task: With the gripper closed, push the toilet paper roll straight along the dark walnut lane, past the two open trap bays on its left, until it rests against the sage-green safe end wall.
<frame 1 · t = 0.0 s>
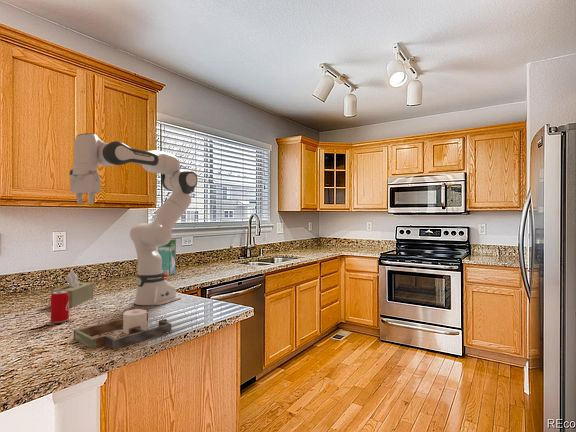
hand: (85, 203, 150), 48 cm above the worktop, tool pointing down, fingers open, 8 cm apart
milk carton: (166, 274, 252), on the worktop
toilet paper: (137, 329, 136), resting in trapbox
beverage can: (59, 321, 143), on the worktop
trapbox: (122, 332, 131), on the worktop
tissue box: (73, 303, 172), on the worktop
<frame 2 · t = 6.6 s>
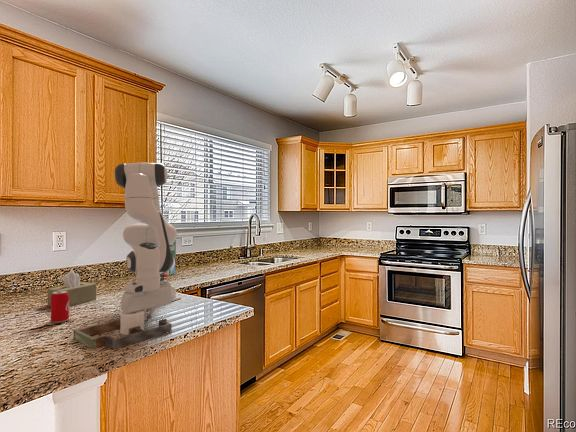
hand: (147, 319, 139), 3 cm above the worktop, tool pointing down, fingers closed
toilet paper: (134, 329, 135), resting in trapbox, touching gripper
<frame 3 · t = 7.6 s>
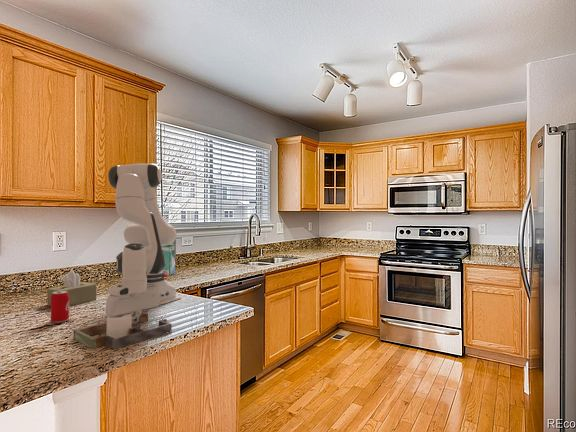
hand: (133, 322, 134), 3 cm above the worktop, tool pointing down, fingers closed
toilet paper: (121, 333, 130), resting in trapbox, touching gripper
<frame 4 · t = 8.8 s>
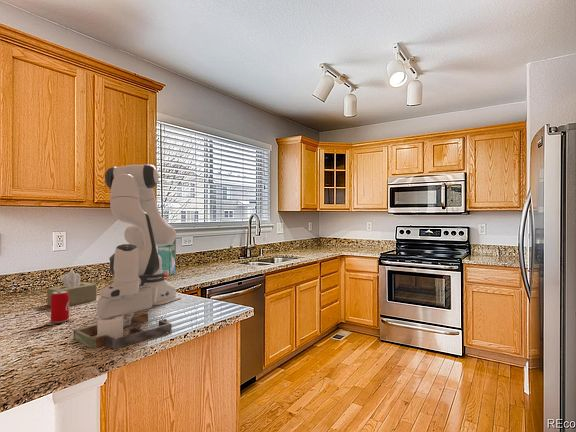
hand: (125, 324, 132), 3 cm above the worktop, tool pointing down, fingers closed
toilet paper: (112, 336, 128), resting in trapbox, touching gripper
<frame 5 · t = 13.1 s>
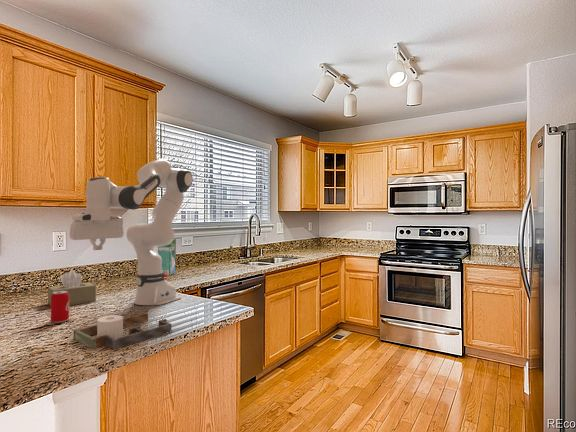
hand: (97, 249, 144), 29 cm above the worktop, tool pointing down, fingers closed
toilet paper: (112, 336, 128), resting in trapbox
at the end: toilet paper inside the target area on the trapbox (3.9 cm from its centre), point 0.0 cm above the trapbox's base; toilet paper moved 9.9 cm from its start; the gripper is holding nothing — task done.
